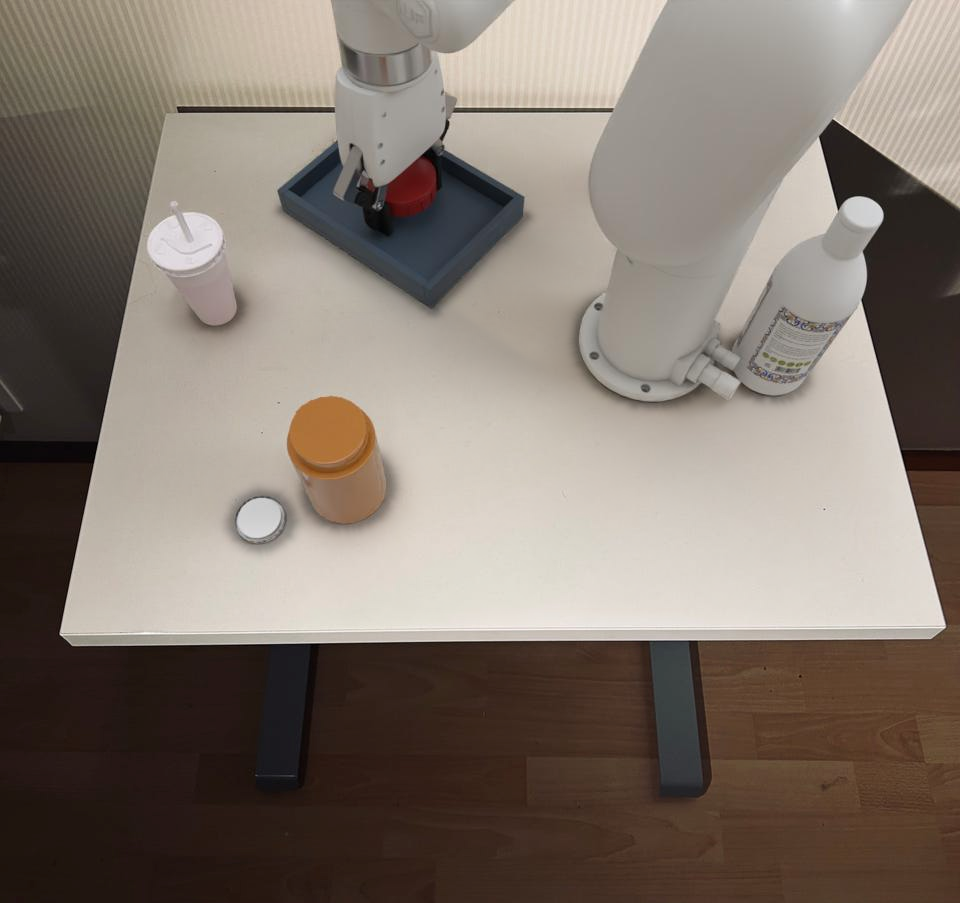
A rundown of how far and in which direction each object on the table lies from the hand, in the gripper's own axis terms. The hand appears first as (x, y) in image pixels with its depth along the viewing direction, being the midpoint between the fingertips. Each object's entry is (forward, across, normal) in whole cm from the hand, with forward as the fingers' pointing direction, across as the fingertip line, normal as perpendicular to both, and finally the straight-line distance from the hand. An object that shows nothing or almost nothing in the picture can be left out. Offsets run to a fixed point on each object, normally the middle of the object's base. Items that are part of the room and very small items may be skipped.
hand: (403, 204), depth 80 cm
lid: (-3, 0, 0) cm, 3 cm away
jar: (+2, +26, +16) cm, 30 cm away
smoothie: (+2, +20, -6) cm, 21 cm away
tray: (+1, 0, 0) cm, 1 cm away
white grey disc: (+2, +33, +12) cm, 35 cm away
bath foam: (+2, -7, +38) cm, 38 cm away
